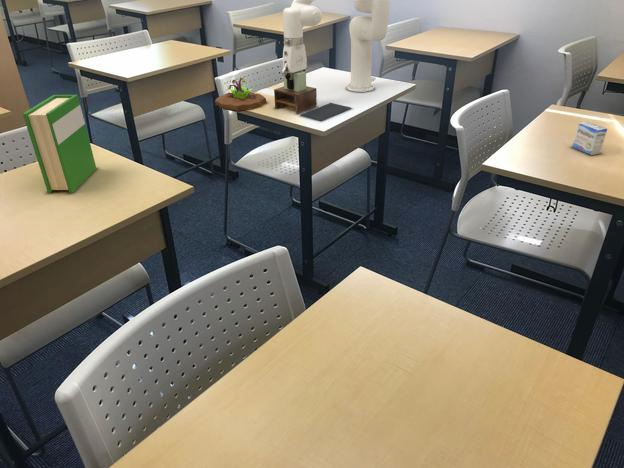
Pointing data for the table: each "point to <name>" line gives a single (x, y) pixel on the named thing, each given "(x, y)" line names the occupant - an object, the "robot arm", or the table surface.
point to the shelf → (296, 98)
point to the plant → (240, 98)
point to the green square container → (297, 81)
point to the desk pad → (325, 111)
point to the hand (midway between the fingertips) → (295, 87)
